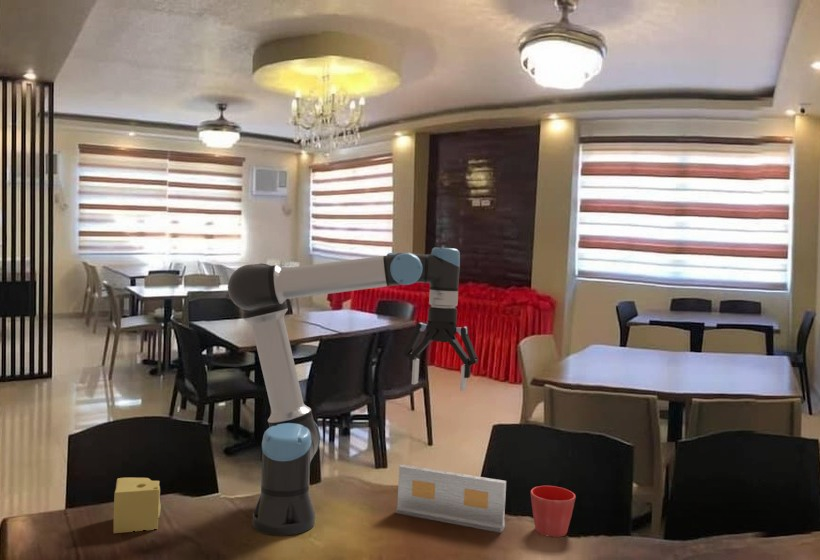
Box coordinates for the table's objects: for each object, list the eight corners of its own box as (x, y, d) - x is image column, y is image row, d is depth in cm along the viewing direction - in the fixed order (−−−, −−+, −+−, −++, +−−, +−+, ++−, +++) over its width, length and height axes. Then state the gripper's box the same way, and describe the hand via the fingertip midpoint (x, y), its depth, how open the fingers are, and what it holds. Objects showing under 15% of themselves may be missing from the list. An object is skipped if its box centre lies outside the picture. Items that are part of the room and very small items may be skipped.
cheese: (160, 514, 170) (161, 474, 169) (159, 531, 159) (160, 489, 159) (115, 517, 166) (116, 477, 166) (110, 535, 156) (111, 492, 156)
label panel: (395, 513, 176) (397, 467, 176) (401, 507, 180) (403, 463, 180) (501, 532, 166) (503, 484, 166) (504, 527, 170) (507, 479, 170)
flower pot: (575, 542, 163) (577, 502, 162) (528, 537, 165) (530, 497, 164) (572, 525, 173) (574, 487, 173) (529, 520, 175) (530, 483, 175)
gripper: (394, 303, 179) (389, 383, 180) (484, 311, 170) (479, 395, 170) (405, 302, 186) (401, 379, 187) (492, 309, 177) (488, 390, 177)
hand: (438, 386), depth 179 cm, fingers open, 13 cm apart
